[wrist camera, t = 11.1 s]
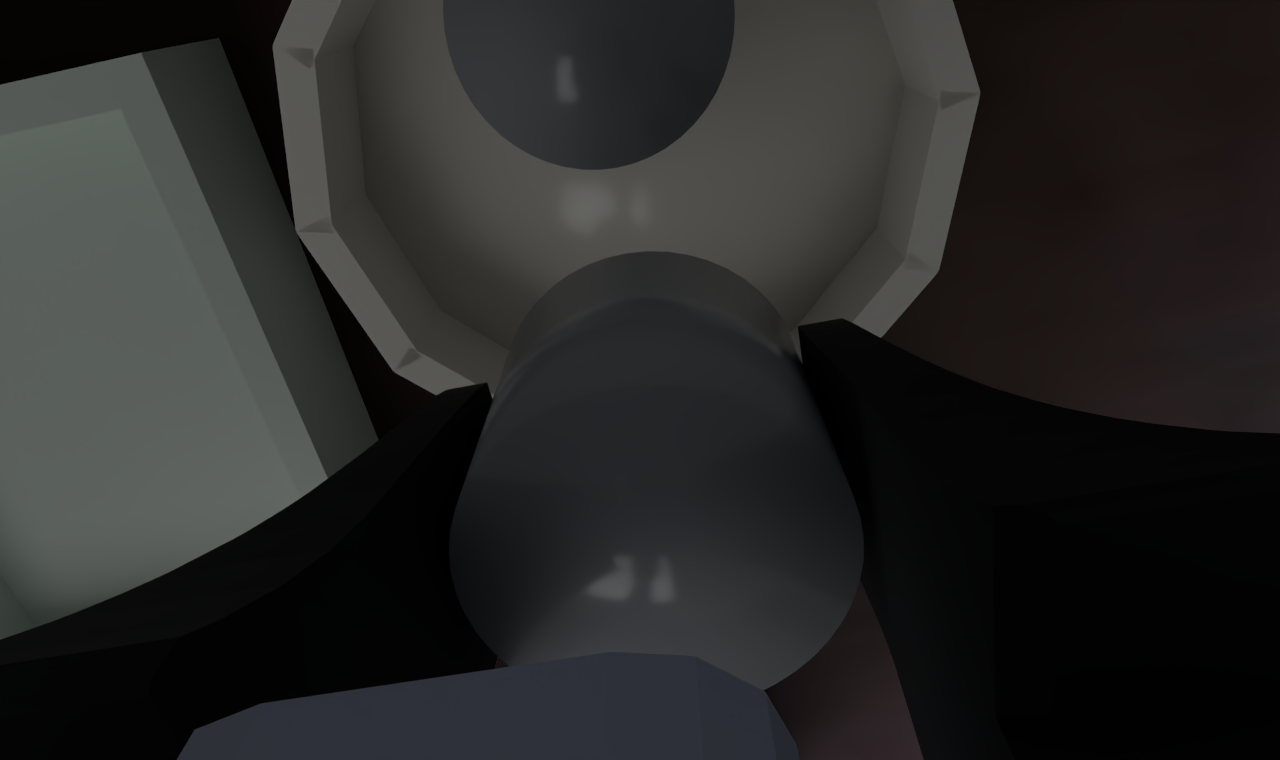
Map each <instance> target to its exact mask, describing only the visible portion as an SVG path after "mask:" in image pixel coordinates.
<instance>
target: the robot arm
mask: <svg viewBox="0 0 1280 760" xmlns="http://www.w3.org/2000/svg"><path fill="white" fill-rule="evenodd" d="M798 333H799V341H800V349H801V357H802V365H803V367H804V370H805V372H806V375H807V377H808V380H809V383H810V385H811V388H812V390H813V393H814V396H815V398H816V401H817V403H818V406H819V408H820V411H821V414H822V416H823V419H824V421H825V424H826V426H827V429H828V432H829V434H830V437H831V439H832V442H833V445H834V447H835V450H836V452H837V455H838V457H839V460H840V463H841V465H842V468H843V470H844V473H845V476H846V478H847V481H848V483H849V486H850V488H851V491H852V494H853V496H854V499H855V502H856V505H857V508H858V511H859V514H860V518H861V524H862V531H863V537H864V561H863V567H862V572H861V578H860V580H861V582H862V584H863V587H864V589H865V591H866V593H867V596H868V598H869V600H870V603H871V605H872V607H873V610H874V612H875V614H876V616H877V619H878V621H879V623H880V626H881V628H882V631H883V633H884V636H885V639H886V641H887V644H888V646H889V649H890V652H891V654H892V657H893V660H894V663H895V667H896V670H897V673H898V676H899V680H900V683H901V686H902V689H903V693H904V696H905V699H906V702H907V706H908V709H909V712H910V715H911V719H912V722H913V725H914V728H915V732H916V735H917V739H918V742H919V745H920V749H921V752H922V755H923V759H924V760H1280V434H1277V433H1252V432H1228V431H1215V430H1205V429H1196V428H1187V427H1177V426H1168V425H1159V424H1151V423H1144V422H1138V421H1131V420H1124V419H1118V418H1112V417H1107V416H1102V415H1097V414H1092V413H1087V412H1082V411H1077V410H1072V409H1067V408H1062V407H1058V406H1054V405H1050V404H1046V403H1042V402H1038V401H1035V400H1031V399H1028V398H1025V397H1021V396H1018V395H1014V394H1011V393H1008V392H1004V391H1001V390H998V389H995V388H992V387H989V386H986V385H983V384H980V383H978V382H975V381H972V380H970V379H967V378H965V377H963V376H960V375H958V374H955V373H953V372H950V371H948V370H945V369H943V368H941V367H938V366H936V365H934V364H932V363H930V362H927V361H925V360H923V359H921V358H919V357H917V356H915V355H913V354H911V353H909V352H907V351H905V350H903V349H901V348H899V347H897V346H895V345H893V344H891V343H889V342H887V341H885V340H884V339H882V338H880V337H878V336H876V335H874V334H873V333H871V332H869V331H867V330H865V329H863V328H861V327H860V326H858V325H856V324H854V323H852V322H850V321H848V320H845V319H843V318H840V319H834V320H829V321H823V322H818V323H812V324H807V325H801V326H798ZM492 400H493V399H492V396H491V393H490V389H489V386H488V383H487V382H486V383H481V384H475V385H470V386H464V387H459V388H453V389H448V390H445V391H443V392H442V393H440V394H438V395H436V396H435V397H433V398H432V399H430V400H429V401H428V402H426V403H425V404H424V405H422V406H421V407H420V408H418V409H417V410H416V411H414V412H413V413H412V414H411V415H409V416H408V417H407V418H406V419H404V420H403V421H402V422H401V423H399V424H398V425H397V426H396V427H394V428H393V429H392V430H390V431H389V432H388V433H387V434H385V435H384V436H383V437H382V438H380V439H379V440H378V441H377V442H375V443H374V444H373V445H372V446H370V447H369V448H368V449H367V450H365V451H364V452H363V453H362V454H360V455H359V456H358V457H356V458H355V459H354V460H352V461H351V462H349V463H348V464H347V465H345V466H344V467H343V468H341V469H340V470H339V471H337V472H336V473H335V474H333V475H332V476H330V477H329V478H328V479H326V480H325V481H324V482H322V483H321V484H320V485H318V486H317V487H316V488H314V489H313V490H311V491H310V492H309V493H307V494H306V495H304V496H303V497H301V498H300V499H298V500H297V501H295V502H294V503H292V504H291V505H289V506H288V507H286V508H284V509H283V510H281V511H280V512H278V513H277V514H275V515H273V516H272V517H270V518H268V519H267V520H265V521H263V522H262V523H260V524H258V525H257V526H255V527H253V528H252V529H250V530H248V531H247V532H245V533H243V534H241V535H240V536H238V537H236V538H234V539H232V540H230V541H229V542H227V543H225V544H223V545H221V546H219V547H217V548H215V549H213V550H211V551H209V552H207V553H205V554H203V555H201V556H199V557H197V558H195V559H194V560H192V561H190V562H188V563H186V564H184V565H182V566H180V567H178V568H176V569H174V570H172V571H170V572H168V573H166V574H164V575H162V576H160V577H158V578H155V579H153V580H151V581H149V582H146V583H144V584H142V585H140V586H137V587H135V588H133V589H131V590H129V591H126V592H124V593H122V594H119V595H117V596H115V597H112V598H110V599H107V600H105V601H102V602H100V603H98V604H95V605H93V606H90V607H88V608H85V609H83V610H81V611H78V612H76V613H73V614H70V615H68V616H65V617H63V618H60V619H57V620H55V621H52V622H49V623H47V624H44V625H41V626H38V627H35V628H32V629H29V630H27V631H24V632H21V633H18V634H15V635H12V636H9V637H6V638H4V639H1V640H0V760H800V759H799V754H798V749H797V745H796V743H795V741H794V739H793V738H792V736H791V734H790V733H789V731H788V729H787V728H786V726H785V724H784V723H783V721H782V719H781V717H780V716H779V714H778V712H777V711H776V709H775V707H774V706H773V704H772V702H771V701H770V699H769V697H768V695H767V694H766V692H765V691H763V690H761V689H759V688H757V687H755V686H753V685H751V684H749V683H747V682H745V681H743V680H741V679H739V678H737V677H735V676H733V675H731V674H729V673H727V672H725V671H723V670H721V669H719V668H717V667H715V666H714V665H712V664H710V663H708V662H706V661H704V660H702V659H700V658H698V657H696V656H683V655H663V654H643V653H623V652H606V653H599V654H592V655H585V656H579V657H572V658H565V659H558V660H552V661H545V662H538V663H531V664H525V665H518V666H511V667H504V668H498V669H494V668H495V664H496V659H497V655H496V654H495V653H494V652H493V651H492V650H491V649H490V648H489V647H488V646H487V645H486V643H485V642H484V641H483V640H482V639H481V637H480V636H479V635H478V634H477V633H476V631H475V629H474V628H473V626H472V625H471V623H470V621H469V620H468V618H467V617H466V615H465V613H464V611H463V609H462V606H461V604H460V602H459V599H458V597H457V595H456V591H455V588H454V584H453V580H452V576H451V570H450V561H449V540H450V529H451V525H452V520H453V516H454V512H455V508H456V505H457V502H458V499H459V496H460V493H461V490H462V487H463V485H464V482H465V479H466V476H467V473H468V470H469V467H470V464H471V461H472V458H473V455H474V452H475V449H476V446H477V444H478V441H479V438H480V435H481V432H482V429H483V426H484V423H485V420H486V417H487V414H488V411H489V408H490V405H491V402H492Z"/></svg>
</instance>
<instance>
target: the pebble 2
mask: <svg viewBox="0 0 1280 760" xmlns="http://www.w3.org/2000/svg"><path fill="white" fill-rule="evenodd" d="M449 561H450V570H451V576H452V580H453V584H454V588H455V591H456V595H457V597H458V599H459V602H460V604H461V606H462V609H463V611H464V613H465V615H466V617H467V618H468V620H469V621H470V623H471V625H472V626H473V628H474V629H475V631H476V633H477V634H478V635H479V636H480V637H481V639H482V640H483V641H484V642H485V643H486V645H487V646H488V647H489V648H490V649H491V650H492V651H493V652H494V653H495V654H496V655H497V656H498V657H499V658H500V659H501V660H502V661H504V662H505V663H506V664H507V665H508V666H509V667H511V666H518V665H525V664H531V663H538V662H545V661H552V660H558V659H565V658H572V657H579V656H585V655H592V654H599V653H606V652H623V653H643V654H663V655H683V656H696V657H698V658H700V659H702V660H704V661H706V662H708V663H710V664H712V665H714V666H715V667H717V668H719V669H721V670H723V671H725V672H727V673H729V674H731V675H733V676H735V677H737V678H739V679H741V680H743V681H745V682H747V683H749V684H751V685H753V686H755V687H757V688H759V689H761V690H765V689H767V688H769V687H771V686H773V685H775V684H777V683H778V682H780V681H781V680H783V679H785V678H786V677H788V676H789V675H791V674H792V673H794V672H795V671H797V670H798V669H799V668H800V667H802V666H803V665H804V664H805V663H806V662H808V661H809V660H810V659H811V658H813V657H814V656H815V655H816V654H817V653H818V652H819V650H820V649H821V648H822V647H823V646H824V645H825V644H826V643H827V642H828V641H829V640H830V639H831V637H832V636H833V634H834V633H835V632H836V630H837V629H838V627H839V626H840V625H841V623H842V622H843V620H844V618H845V616H846V614H847V612H848V610H849V609H850V607H851V605H852V603H853V600H854V597H855V594H856V591H857V589H858V586H859V583H860V578H861V572H862V567H863V561H864V537H863V531H862V524H861V518H860V514H859V511H858V508H857V505H856V502H855V499H854V496H853V494H852V491H851V488H850V486H849V483H848V481H847V478H846V476H845V473H844V470H843V468H842V465H841V463H840V460H839V457H838V455H837V452H836V450H835V447H834V445H833V442H832V439H831V437H830V434H829V432H828V429H827V426H826V424H825V421H824V419H823V416H822V414H821V411H820V408H819V406H818V403H817V401H816V398H815V396H814V393H813V390H812V388H811V385H810V383H809V380H808V377H807V375H806V372H805V370H804V367H803V365H802V362H801V359H800V357H799V354H798V352H797V349H796V346H795V344H794V341H793V339H792V336H791V334H790V332H789V330H788V328H787V326H786V324H785V322H784V320H783V319H782V317H781V316H780V315H779V313H778V312H777V310H776V309H775V308H774V306H773V305H772V304H771V303H770V302H769V301H768V299H767V298H766V297H765V296H764V295H763V294H762V293H761V292H760V291H759V290H758V289H756V288H755V287H754V286H753V285H751V284H750V283H749V282H748V281H746V280H745V279H744V278H742V277H740V276H739V275H737V274H735V273H734V272H732V271H730V270H729V269H727V268H725V267H722V266H720V265H718V264H715V263H713V262H711V261H708V260H705V259H701V258H698V257H694V256H691V255H686V254H680V253H673V252H659V251H644V252H634V253H625V254H621V255H617V256H613V257H608V258H605V259H602V260H599V261H597V262H594V263H591V264H589V265H586V266H584V267H582V268H580V269H579V270H577V271H575V272H573V273H571V274H569V275H568V276H566V277H565V278H563V279H562V280H561V281H559V282H558V283H556V284H555V285H554V286H552V287H551V288H550V289H549V290H548V291H547V292H546V293H545V294H544V295H543V296H542V297H541V298H540V299H538V301H537V302H536V303H535V304H534V306H533V307H532V308H531V309H530V311H529V312H528V313H527V314H526V316H525V318H524V320H523V321H522V323H521V325H520V326H519V328H518V330H517V332H516V335H515V337H514V339H513V342H512V344H511V347H510V350H509V353H508V356H507V359H506V361H505V364H504V367H503V370H502V373H501V376H500V379H499V382H498V385H497V388H496V391H495V394H494V397H493V400H492V402H491V405H490V408H489V411H488V414H487V417H486V420H485V423H484V426H483V429H482V432H481V435H480V438H479V441H478V444H477V446H476V449H475V452H474V455H473V458H472V461H471V464H470V467H469V470H468V473H467V476H466V479H465V482H464V485H463V487H462V490H461V493H460V496H459V499H458V502H457V505H456V508H455V512H454V516H453V520H452V525H451V529H450V540H449Z"/></svg>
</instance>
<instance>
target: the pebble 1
mask: <svg viewBox="0 0 1280 760" xmlns="http://www.w3.org/2000/svg"><path fill="white" fill-rule="evenodd" d="M443 19H444V30H445V36H446V41H447V46H448V51H449V54H450V57H451V60H452V63H453V66H454V69H455V72H456V74H457V76H458V78H459V80H460V82H461V85H462V87H463V89H464V91H465V92H466V94H467V95H468V97H469V99H470V100H471V102H472V103H473V105H474V106H475V108H476V109H477V110H478V111H479V113H480V114H481V115H482V116H483V118H484V119H485V120H486V121H487V122H488V123H489V124H490V125H491V126H492V127H493V128H494V129H495V130H496V131H497V132H498V133H499V134H500V135H501V136H503V137H504V138H505V139H507V140H508V141H509V142H510V143H512V144H513V145H514V146H516V147H518V148H519V149H521V150H523V151H525V152H526V153H528V154H530V155H532V156H534V157H536V158H539V159H541V160H543V161H546V162H549V163H552V164H556V165H559V166H563V167H568V168H575V169H582V170H603V169H611V168H618V167H622V166H626V165H630V164H634V163H637V162H639V161H642V160H644V159H647V158H649V157H651V156H653V155H655V154H657V153H658V152H660V151H662V150H664V149H666V148H667V147H668V146H670V145H671V144H672V143H674V142H675V141H676V140H678V139H679V138H680V137H682V136H683V135H684V134H685V133H686V132H687V131H688V130H689V129H690V128H691V127H692V126H693V125H694V124H695V123H696V121H697V120H698V119H699V118H700V116H701V115H702V114H703V113H704V111H705V110H706V109H707V107H708V105H709V104H710V102H711V101H712V99H713V97H714V96H715V94H716V92H717V90H718V88H719V85H720V83H721V81H722V79H723V77H724V74H725V71H726V68H727V64H728V61H729V58H730V54H731V48H732V43H733V37H734V23H735V8H734V0H443Z"/></svg>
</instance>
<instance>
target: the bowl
mask: <svg viewBox="0 0 1280 760" xmlns="http://www.w3.org/2000/svg"><path fill="white" fill-rule="evenodd" d="M734 8H735V23H734V37H733V43H732V48H731V54H730V58H729V61H728V64H727V68H726V71H725V74H724V77H723V79H722V81H721V83H720V85H719V88H718V90H717V92H716V94H715V96H714V97H713V99H712V101H711V102H710V104H709V105H708V107H707V109H706V110H705V111H704V113H703V114H702V115H701V116H700V118H699V119H698V120H697V121H696V123H695V124H694V125H693V126H692V127H691V128H690V129H689V130H688V131H687V132H686V133H685V134H684V135H683V136H682V137H680V138H679V139H678V140H676V141H675V142H674V143H672V144H671V145H670V146H668V147H667V148H666V149H664V150H662V151H660V152H658V153H657V154H655V155H653V156H651V157H649V158H647V159H644V160H642V161H639V162H637V163H634V164H630V165H626V166H622V167H618V168H611V169H603V170H582V169H575V168H568V167H563V166H559V165H556V164H552V163H549V162H546V161H543V160H541V159H539V158H536V157H534V156H532V155H530V154H528V153H526V152H525V151H523V150H521V149H519V148H518V147H516V146H514V145H513V144H512V143H510V142H509V141H508V140H507V139H505V138H504V137H503V136H501V135H500V134H499V133H498V132H497V131H496V130H495V129H494V128H493V127H492V126H491V125H490V124H489V123H488V122H487V121H486V120H485V119H484V118H483V116H482V115H481V114H480V113H479V111H478V110H477V109H476V108H475V106H474V105H473V103H472V102H471V100H470V99H469V97H468V95H467V94H466V92H465V91H464V89H463V87H462V85H461V82H460V80H459V78H458V76H457V74H456V72H455V69H454V66H453V63H452V60H451V57H450V54H449V51H448V46H447V41H446V36H445V30H444V19H443V0H292V2H291V4H290V6H289V9H288V11H287V13H286V15H285V18H284V20H283V22H282V25H281V27H280V29H279V32H278V34H277V36H276V38H275V41H274V43H273V54H274V62H275V70H276V78H277V86H278V94H279V102H280V110H281V118H282V126H283V134H284V142H285V150H286V158H287V166H288V174H289V182H290V190H291V198H292V205H293V213H294V221H295V229H296V231H297V232H296V233H297V234H298V236H299V237H300V239H301V240H302V241H303V243H304V244H305V246H306V247H307V249H308V250H309V251H310V253H311V254H312V256H313V257H314V259H315V260H316V261H317V263H318V264H319V266H320V267H321V269H322V270H323V271H324V273H325V274H326V276H327V277H328V279H329V280H330V281H331V283H332V284H333V286H334V287H335V289H336V290H337V292H338V293H339V294H340V296H341V297H342V299H343V300H344V302H345V303H346V304H347V306H348V307H349V309H350V310H351V312H352V313H353V314H354V316H355V317H356V319H357V320H358V322H359V323H360V324H361V326H362V327H363V329H364V330H365V332H366V333H367V334H368V336H369V337H370V339H371V340H372V342H373V343H374V344H375V346H376V347H377V349H378V350H379V352H380V353H381V354H382V356H383V357H384V359H385V360H386V362H387V363H388V364H389V366H390V367H391V369H392V370H393V372H394V371H395V373H397V374H398V375H400V376H402V377H404V378H406V379H407V380H409V381H411V382H413V383H415V384H417V385H418V386H420V387H422V388H424V389H426V390H427V391H429V392H431V393H433V394H435V395H438V394H440V393H442V392H443V391H445V390H448V389H453V388H459V387H464V386H470V385H475V384H481V383H486V382H487V383H488V386H489V389H490V393H491V396H492V399H493V397H494V394H495V391H496V388H497V385H498V382H499V379H500V376H501V373H502V370H503V367H504V364H505V361H506V359H507V356H508V353H509V350H510V347H511V344H512V342H513V339H514V337H515V335H516V332H517V330H518V328H519V326H520V325H521V323H522V321H523V320H524V318H525V316H526V314H527V313H528V312H529V311H530V309H531V308H532V307H533V306H534V304H535V303H536V302H537V301H538V299H540V298H541V297H542V296H543V295H544V294H545V293H546V292H547V291H548V290H549V289H550V288H551V287H552V286H554V285H555V284H556V283H558V282H559V281H561V280H562V279H563V278H565V277H566V276H568V275H569V274H571V273H573V272H575V271H577V270H579V269H580V268H582V267H584V266H586V265H589V264H591V263H594V262H597V261H599V260H602V259H605V258H608V257H613V256H617V255H621V254H625V253H634V252H644V251H659V252H673V253H680V254H686V255H691V256H694V257H698V258H701V259H705V260H708V261H711V262H713V263H715V264H718V265H720V266H722V267H725V268H727V269H729V270H730V271H732V272H734V273H735V274H737V275H739V276H740V277H742V278H744V279H745V280H746V281H748V282H749V283H750V284H751V285H753V286H754V287H755V288H756V289H758V290H759V291H760V292H761V293H762V294H763V295H764V296H765V297H766V298H767V299H768V301H769V302H770V303H771V304H772V305H773V306H774V308H775V309H776V310H777V312H778V313H779V315H780V316H781V317H782V319H783V320H784V322H785V324H786V326H787V328H788V330H789V332H790V334H791V336H792V339H793V341H794V344H795V346H796V349H797V352H798V354H799V357H800V359H801V362H802V357H801V349H800V341H799V333H798V326H801V325H807V324H812V323H818V322H823V321H829V320H834V319H840V318H843V319H845V320H848V321H850V322H852V323H854V324H856V325H858V326H860V327H861V328H863V329H865V330H867V331H869V332H871V333H873V334H874V335H876V336H878V337H880V338H881V337H882V336H883V335H884V334H885V333H886V332H887V331H888V329H889V328H890V327H891V326H892V325H893V324H894V322H895V321H896V320H897V319H898V318H899V317H900V316H901V314H902V313H903V312H904V311H905V310H906V309H907V307H908V306H909V305H910V304H911V303H912V302H913V301H914V299H915V298H916V297H917V296H918V295H919V294H920V292H921V291H922V290H923V289H924V288H925V287H926V286H927V284H928V283H929V282H930V281H931V280H932V279H933V278H934V276H935V275H936V274H937V273H938V271H939V268H940V264H941V260H942V256H943V251H944V247H945V243H946V238H947V234H948V230H949V226H950V221H951V217H952V213H953V209H954V204H955V200H956V196H957V191H958V187H959V183H960V179H961V174H962V170H963V166H964V162H965V157H966V153H967V149H968V145H969V140H970V136H971V132H972V127H973V123H974V119H975V115H976V110H977V106H978V102H979V98H980V89H979V86H978V83H977V79H976V76H975V73H974V69H973V66H972V63H971V59H970V56H969V53H968V49H967V46H966V43H965V39H964V36H963V33H962V29H961V26H960V23H959V19H958V16H957V13H956V9H955V6H954V3H953V0H734Z"/></svg>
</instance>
